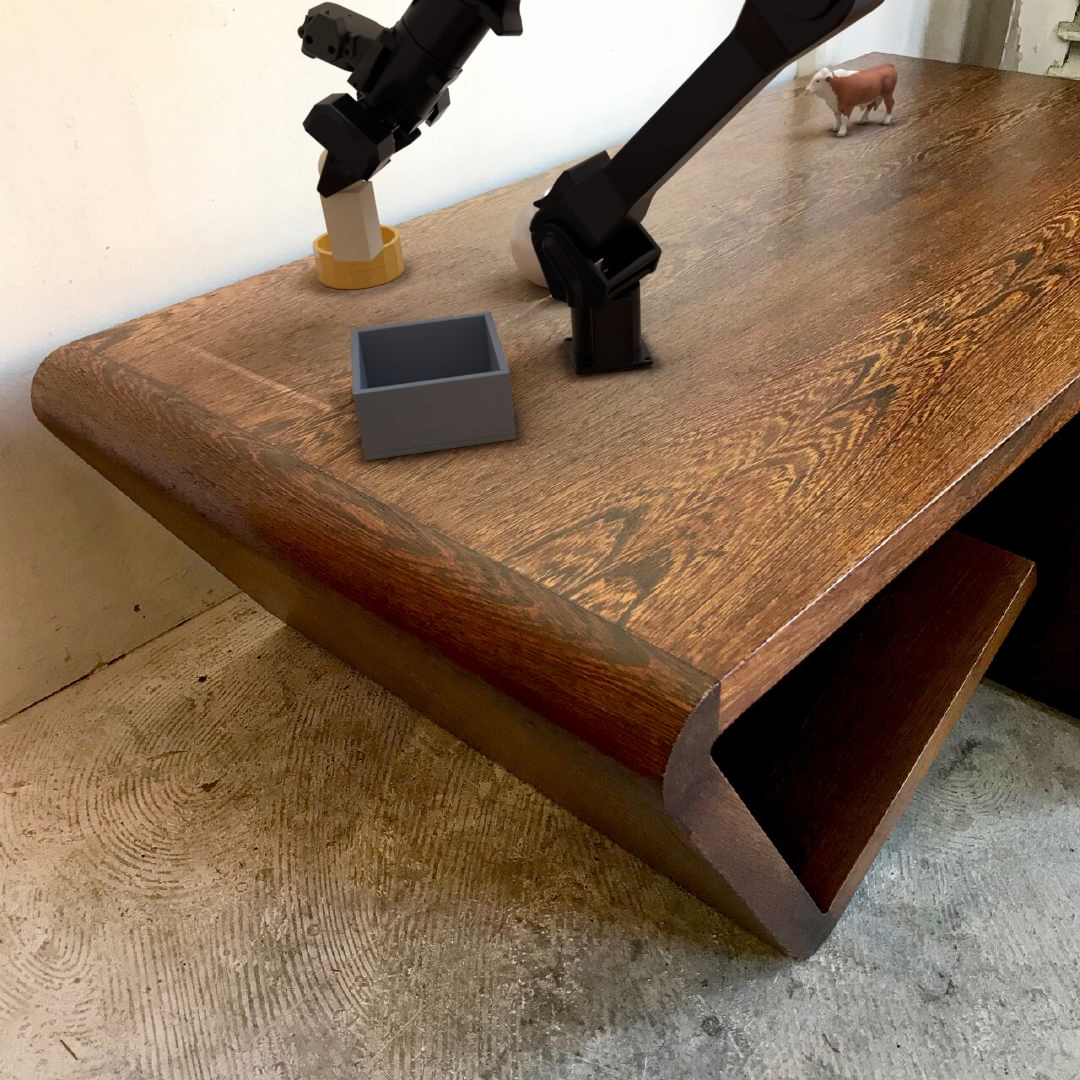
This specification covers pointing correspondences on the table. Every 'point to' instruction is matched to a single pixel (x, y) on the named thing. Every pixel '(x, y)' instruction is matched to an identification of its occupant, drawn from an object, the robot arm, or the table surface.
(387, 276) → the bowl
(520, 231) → the ghost figurine
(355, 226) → the ball-topped square peg
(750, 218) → the table surface
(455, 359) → the bin
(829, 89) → the bull figurine
